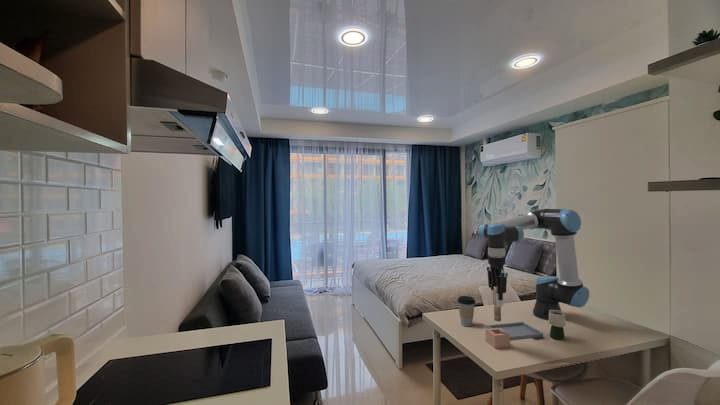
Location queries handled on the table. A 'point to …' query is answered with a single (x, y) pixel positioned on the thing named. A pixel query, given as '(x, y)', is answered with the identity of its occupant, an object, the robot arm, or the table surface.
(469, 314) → the coffee cup
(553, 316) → the character mug
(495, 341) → the pink square tube
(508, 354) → the table surface
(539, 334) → the tray
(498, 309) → the dowel
